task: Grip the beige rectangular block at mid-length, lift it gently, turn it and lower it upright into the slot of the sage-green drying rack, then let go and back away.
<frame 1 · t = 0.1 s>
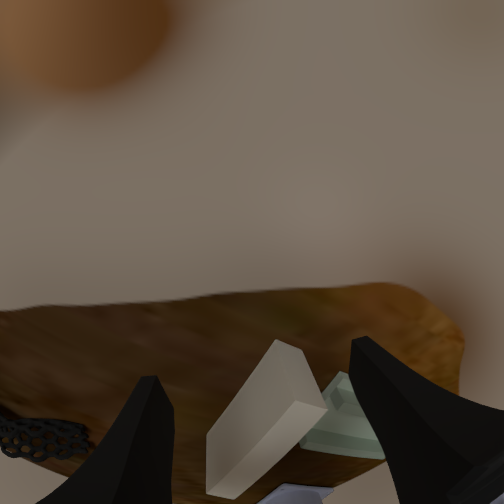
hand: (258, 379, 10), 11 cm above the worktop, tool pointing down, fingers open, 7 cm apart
beige rectangular block: (249, 397, 23), on the worktop
rack: (356, 415, 25), on the worktop
decorative element: (10, 405, 22), on the worktop
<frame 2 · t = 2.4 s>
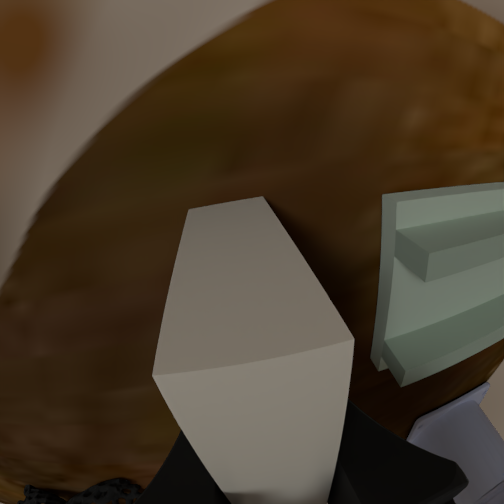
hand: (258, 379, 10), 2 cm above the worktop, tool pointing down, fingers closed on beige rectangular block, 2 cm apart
beige rectangular block: (251, 346, 12), on the worktop, touching gripper
rack: (468, 264, 12), on the worktop
decorative element: (69, 487, 19), on the worktop
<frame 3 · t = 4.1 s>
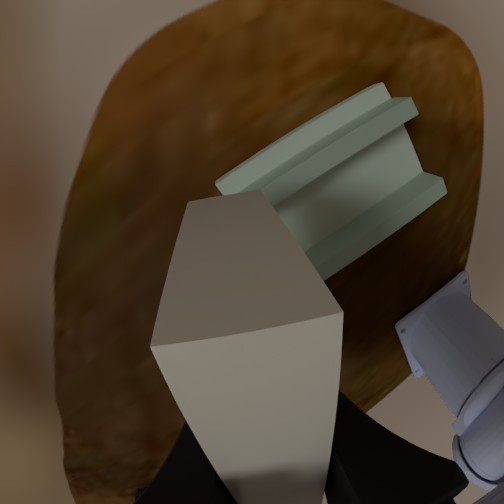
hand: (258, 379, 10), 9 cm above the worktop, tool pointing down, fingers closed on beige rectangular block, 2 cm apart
beige rectangular block: (249, 337, 12), point 7 cm above the worktop, touching gripper
rack: (334, 185, 17), on the worktop
when the fingers open (4 cm above the worktop, at t = 6.1 s): beige rectangular block stays where it is, resting on rack.
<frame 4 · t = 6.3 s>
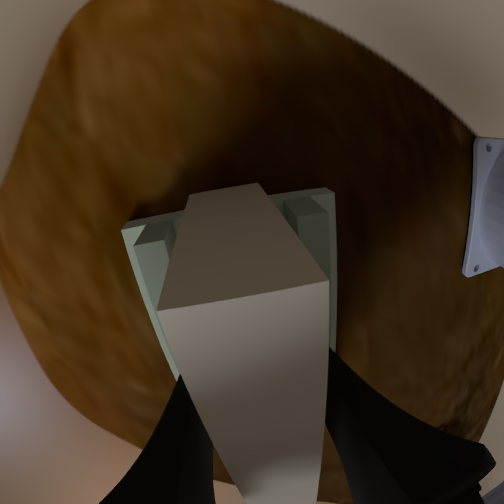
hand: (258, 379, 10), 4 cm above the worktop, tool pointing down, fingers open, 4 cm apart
beige rectangular block: (248, 326, 13), point 1 cm above the worktop, touching rack
rack: (246, 318, 14), on the worktop
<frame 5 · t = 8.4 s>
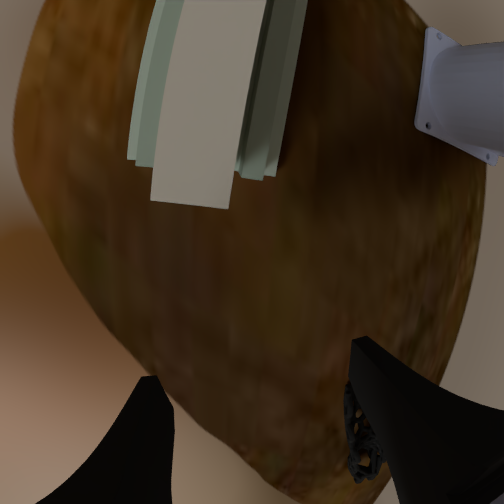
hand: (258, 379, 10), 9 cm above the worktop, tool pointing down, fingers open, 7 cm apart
beige rectangular block: (218, 60, 13), point 1 cm above the worktop, touching rack
rack: (217, 68, 14), on the worktop
decorative element: (358, 427, 30), on the worktop
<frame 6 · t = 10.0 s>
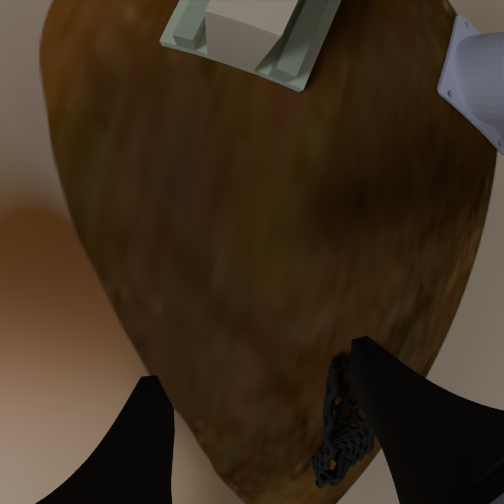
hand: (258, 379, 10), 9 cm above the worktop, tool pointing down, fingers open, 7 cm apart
decorative element: (331, 421, 28), on the worktop
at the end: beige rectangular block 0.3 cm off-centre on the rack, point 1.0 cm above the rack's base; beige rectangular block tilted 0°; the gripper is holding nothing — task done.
